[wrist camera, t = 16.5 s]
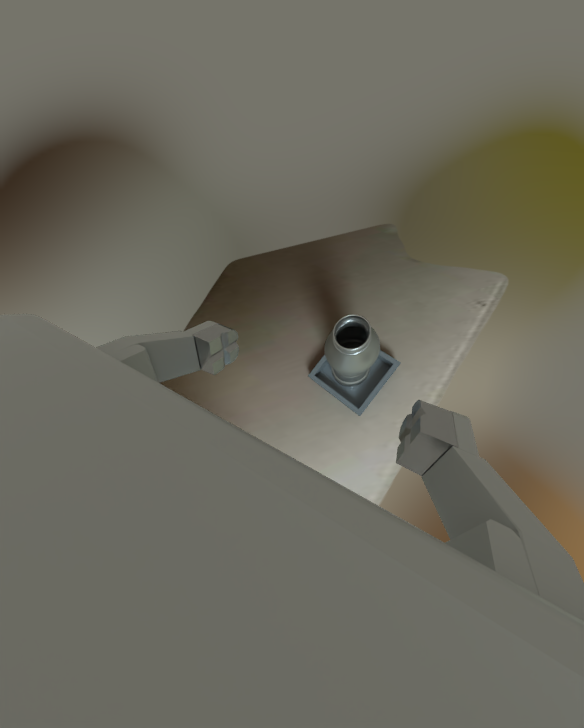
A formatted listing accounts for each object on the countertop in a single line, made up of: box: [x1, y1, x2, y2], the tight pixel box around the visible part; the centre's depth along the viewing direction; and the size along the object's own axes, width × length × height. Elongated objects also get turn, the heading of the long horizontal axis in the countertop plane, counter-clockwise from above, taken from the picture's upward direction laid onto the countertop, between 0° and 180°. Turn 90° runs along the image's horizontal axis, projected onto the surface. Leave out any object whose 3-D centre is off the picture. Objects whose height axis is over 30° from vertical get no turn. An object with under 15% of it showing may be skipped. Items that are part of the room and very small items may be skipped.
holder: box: [308, 350, 400, 416], centre depth 38 cm, size 11×11×3 cm
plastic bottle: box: [324, 314, 380, 387], centre depth 29 cm, size 6×7×20 cm
